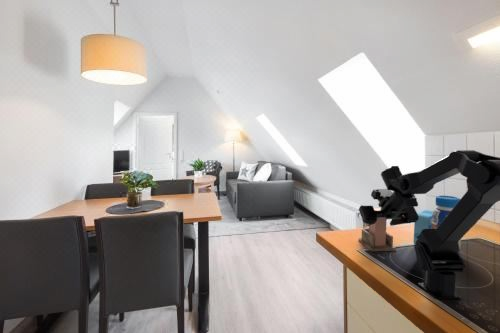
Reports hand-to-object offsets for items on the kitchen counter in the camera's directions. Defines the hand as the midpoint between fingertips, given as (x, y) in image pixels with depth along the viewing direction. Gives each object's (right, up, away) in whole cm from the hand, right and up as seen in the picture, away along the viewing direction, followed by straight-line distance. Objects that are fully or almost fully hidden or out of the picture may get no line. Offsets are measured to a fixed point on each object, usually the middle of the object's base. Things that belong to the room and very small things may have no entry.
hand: (378, 224), depth 93 cm
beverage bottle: (+20, -9, -6) cm, 23 cm away
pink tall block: (0, -7, +1) cm, 7 cm away
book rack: (0, -8, +2) cm, 8 cm away
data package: (+20, -8, +3) cm, 22 cm away
